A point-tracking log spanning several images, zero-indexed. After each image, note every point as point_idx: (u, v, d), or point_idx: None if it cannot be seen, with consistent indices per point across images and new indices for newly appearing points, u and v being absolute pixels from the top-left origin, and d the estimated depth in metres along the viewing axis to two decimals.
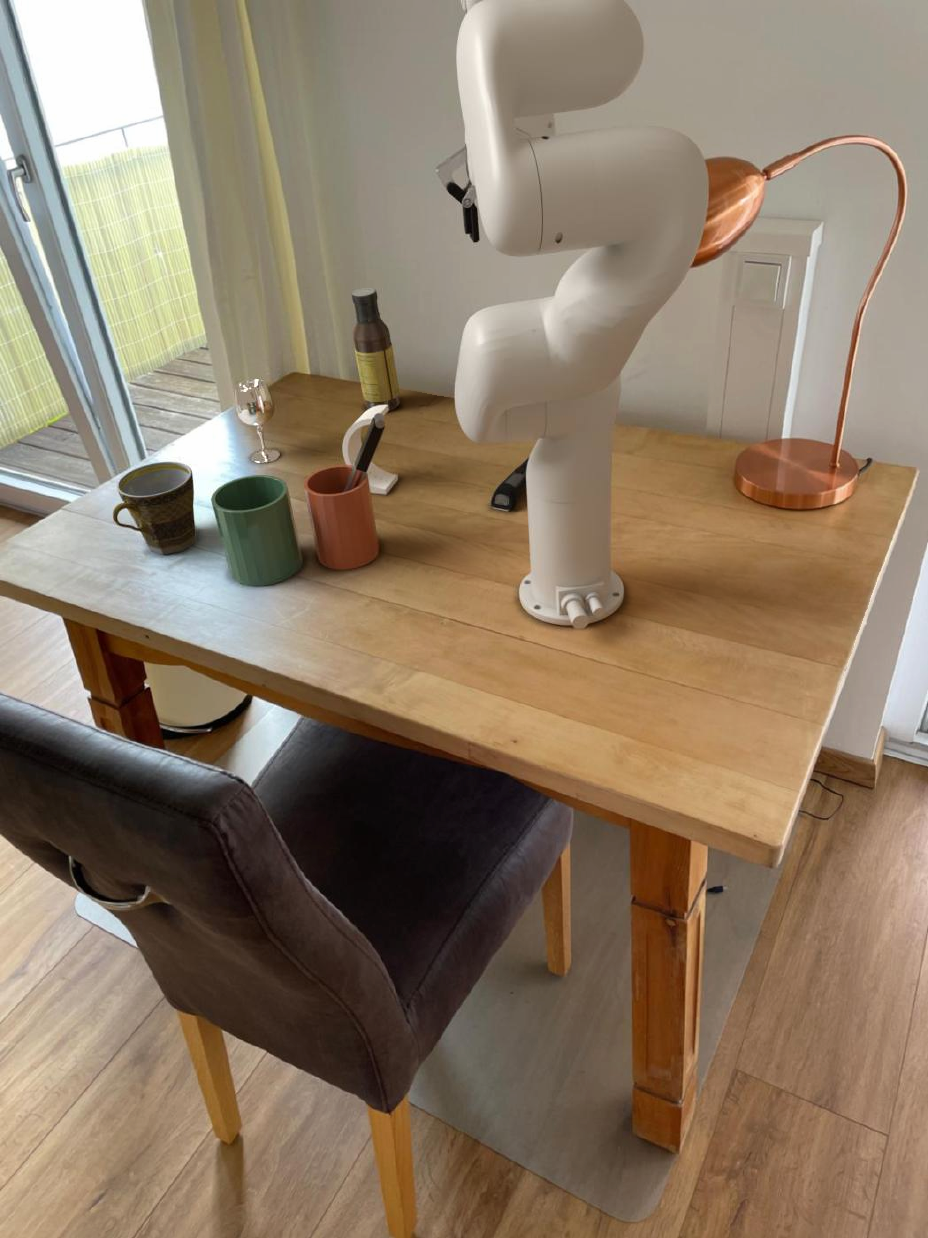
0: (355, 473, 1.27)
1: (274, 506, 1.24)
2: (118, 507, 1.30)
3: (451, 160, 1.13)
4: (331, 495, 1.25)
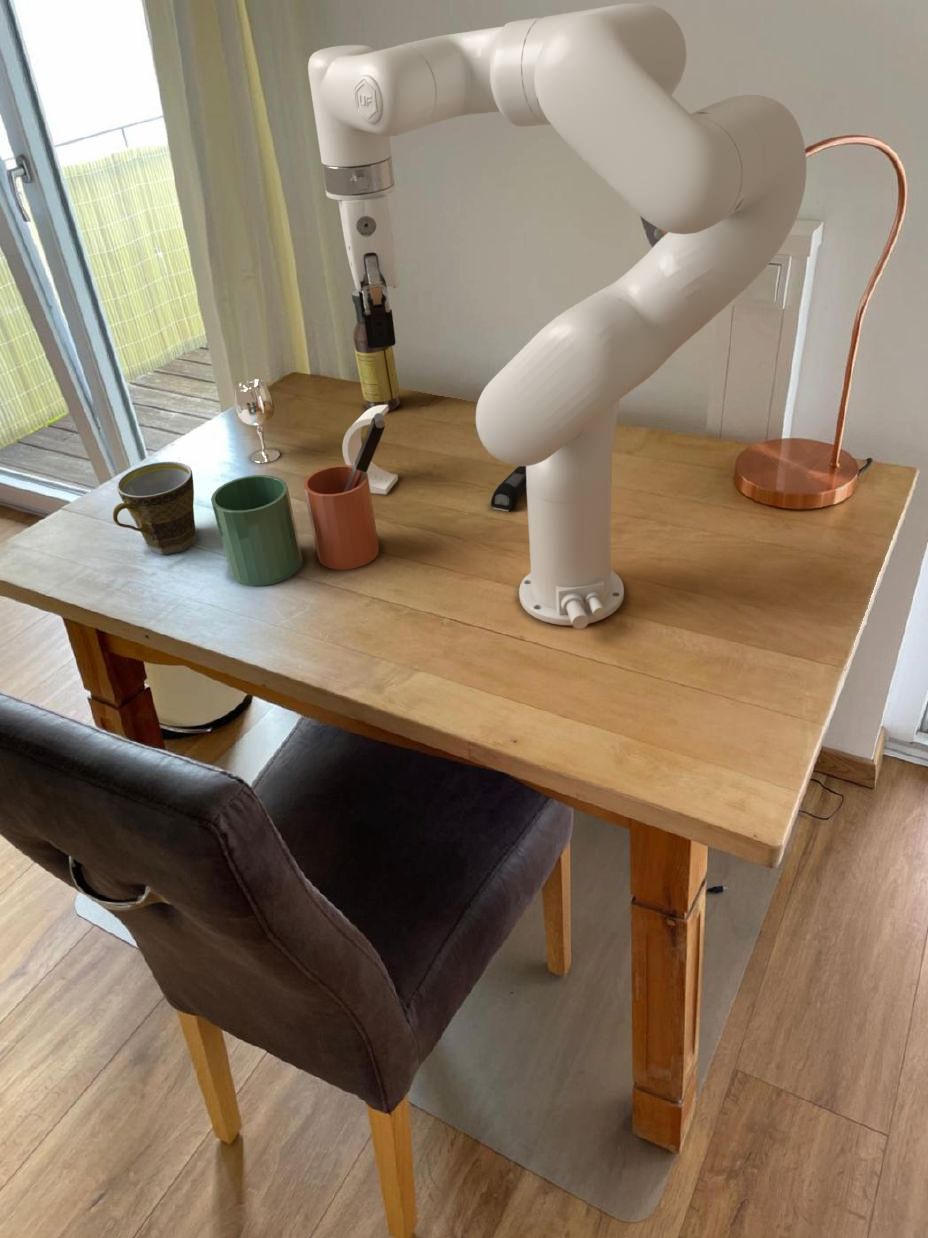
0: (355, 473, 1.27)
1: (274, 506, 1.24)
2: (118, 507, 1.30)
3: (378, 270, 1.08)
4: (331, 495, 1.25)
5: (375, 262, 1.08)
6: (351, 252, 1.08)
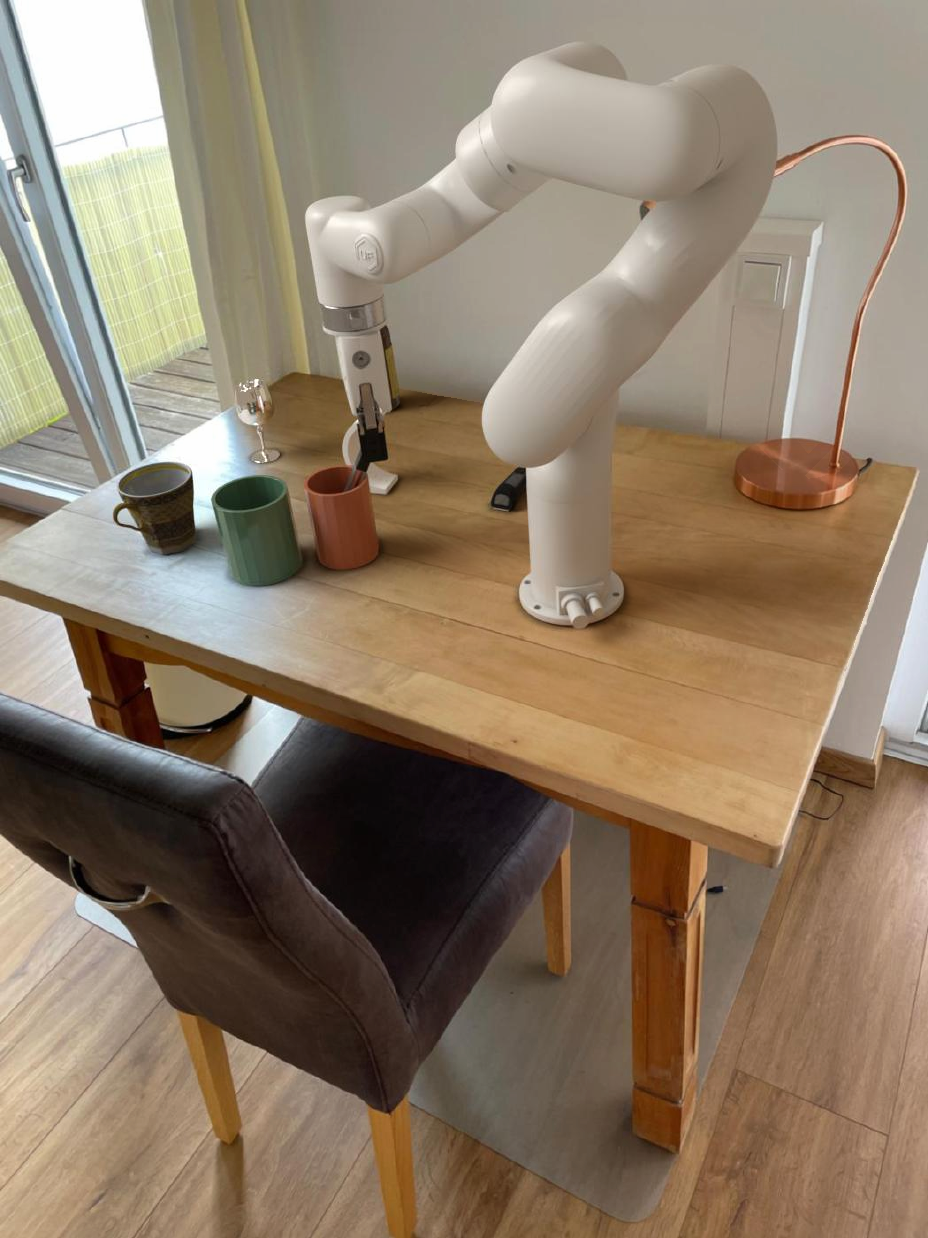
0: (355, 473, 1.27)
1: (274, 506, 1.24)
2: (118, 507, 1.30)
3: (374, 410, 1.18)
4: (331, 495, 1.25)
5: (371, 400, 1.17)
6: (347, 382, 1.16)
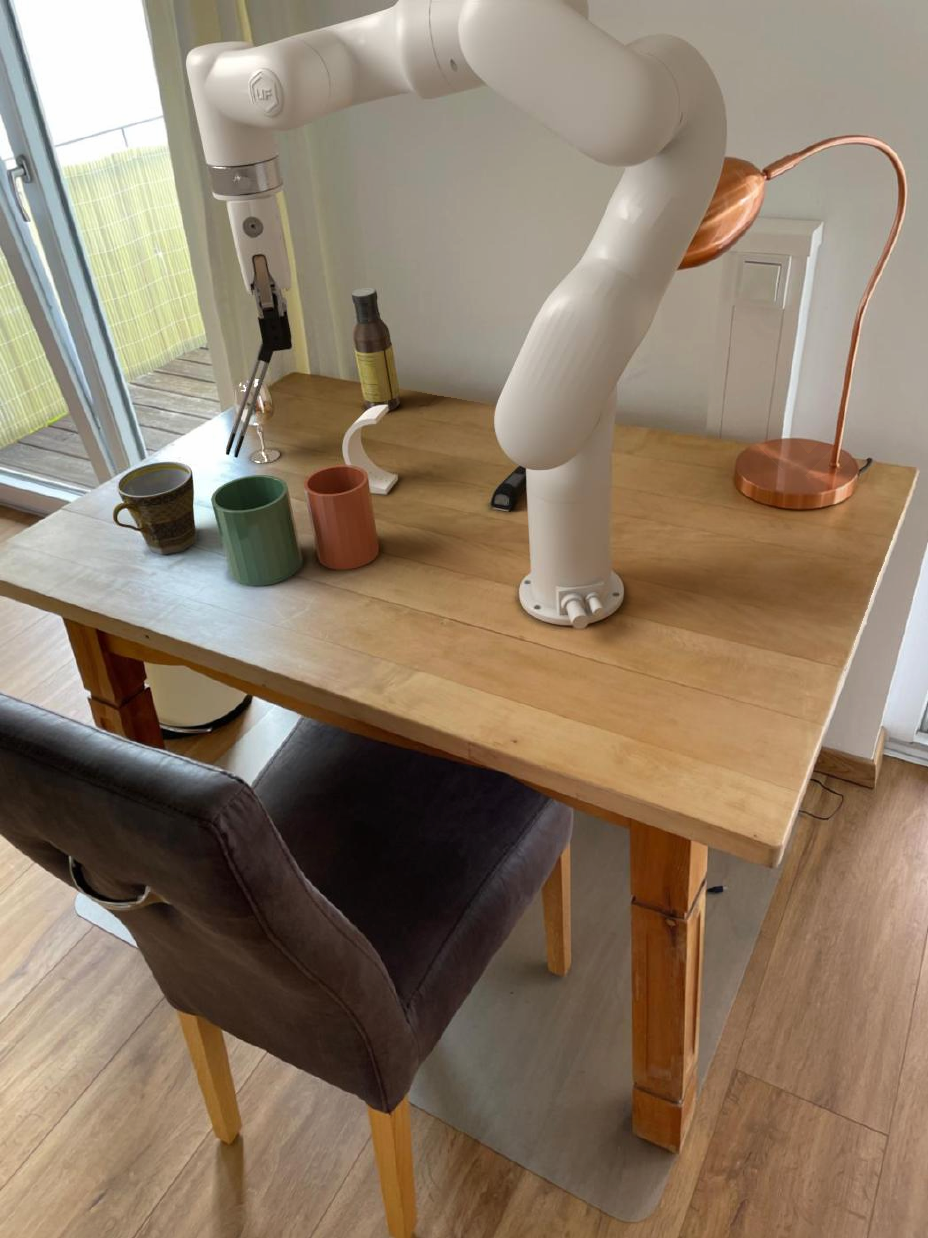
0: (257, 364, 1.17)
1: (274, 506, 1.24)
2: (118, 507, 1.30)
3: (269, 286, 1.08)
4: (331, 495, 1.25)
5: (266, 275, 1.07)
6: (239, 254, 1.06)
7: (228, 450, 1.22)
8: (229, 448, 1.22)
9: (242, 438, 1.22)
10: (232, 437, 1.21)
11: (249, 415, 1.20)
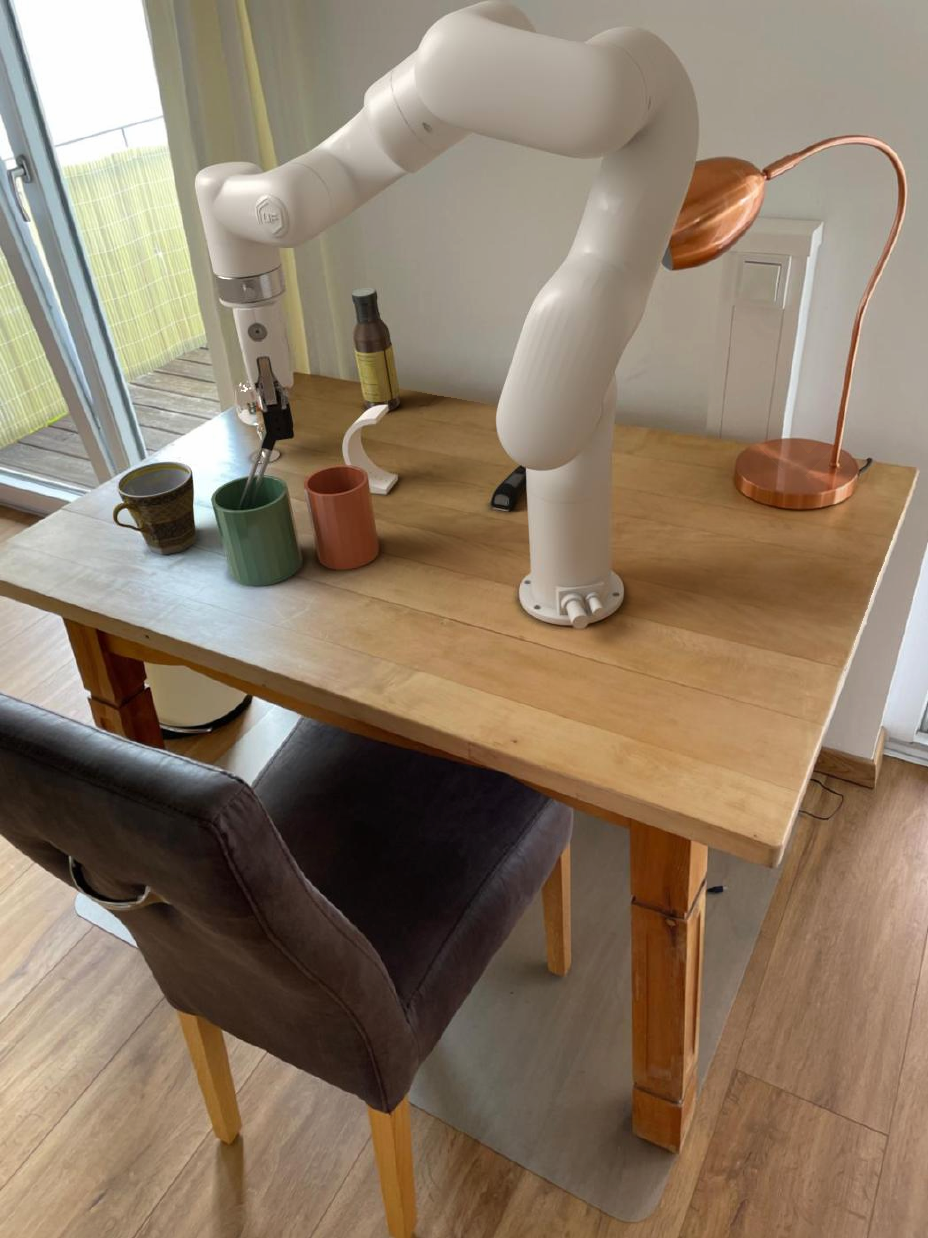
0: (261, 451, 1.23)
1: (274, 506, 1.24)
2: (118, 507, 1.30)
3: (273, 385, 1.14)
4: (331, 495, 1.25)
5: (270, 375, 1.13)
6: (244, 356, 1.12)
7: None
8: None
9: None
10: None
11: (253, 498, 1.26)
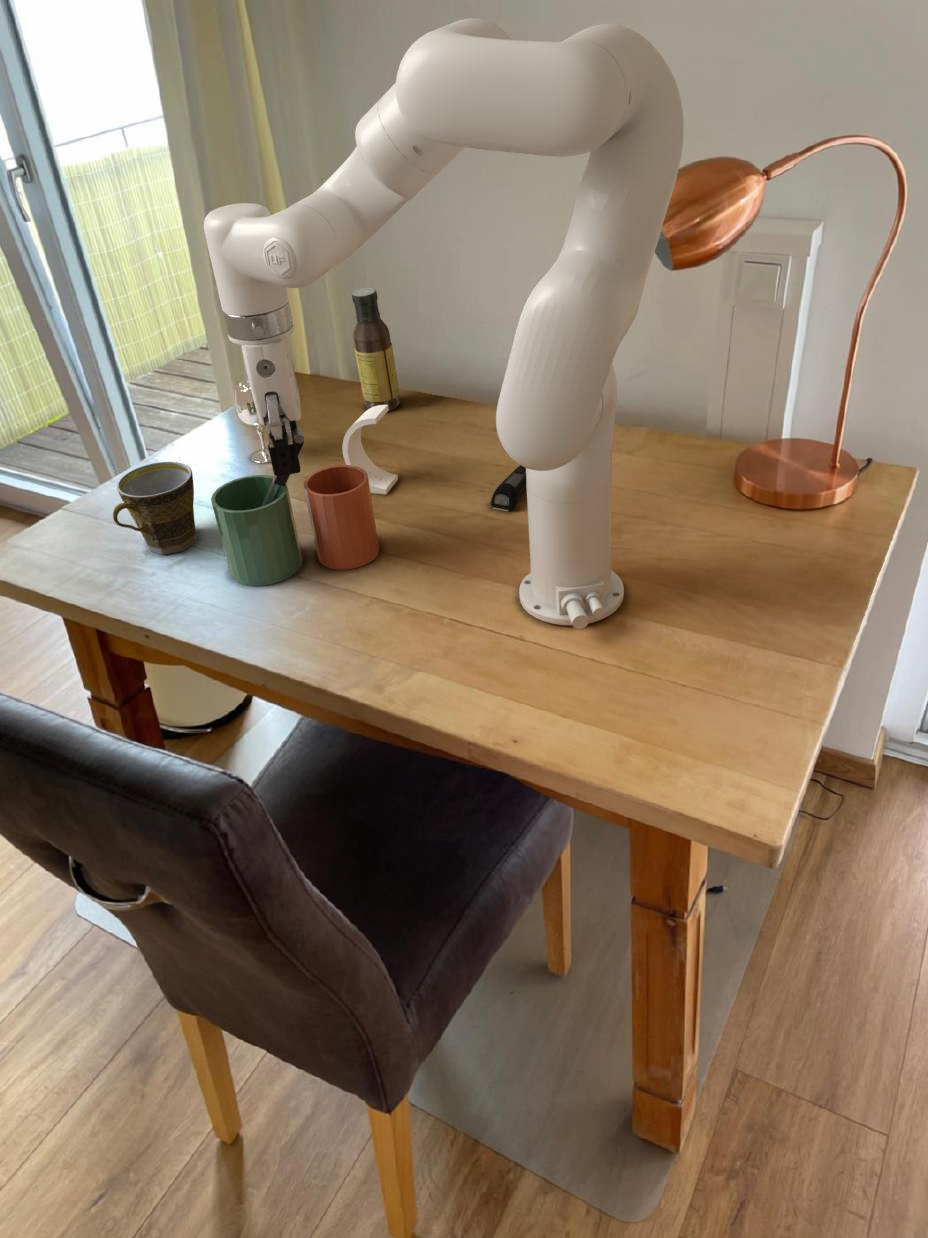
0: (273, 487, 1.26)
1: (274, 506, 1.24)
2: (118, 507, 1.30)
3: (278, 409, 1.14)
4: (331, 495, 1.25)
5: (275, 401, 1.14)
6: (253, 391, 1.15)
7: None
8: None
9: None
10: None
11: None
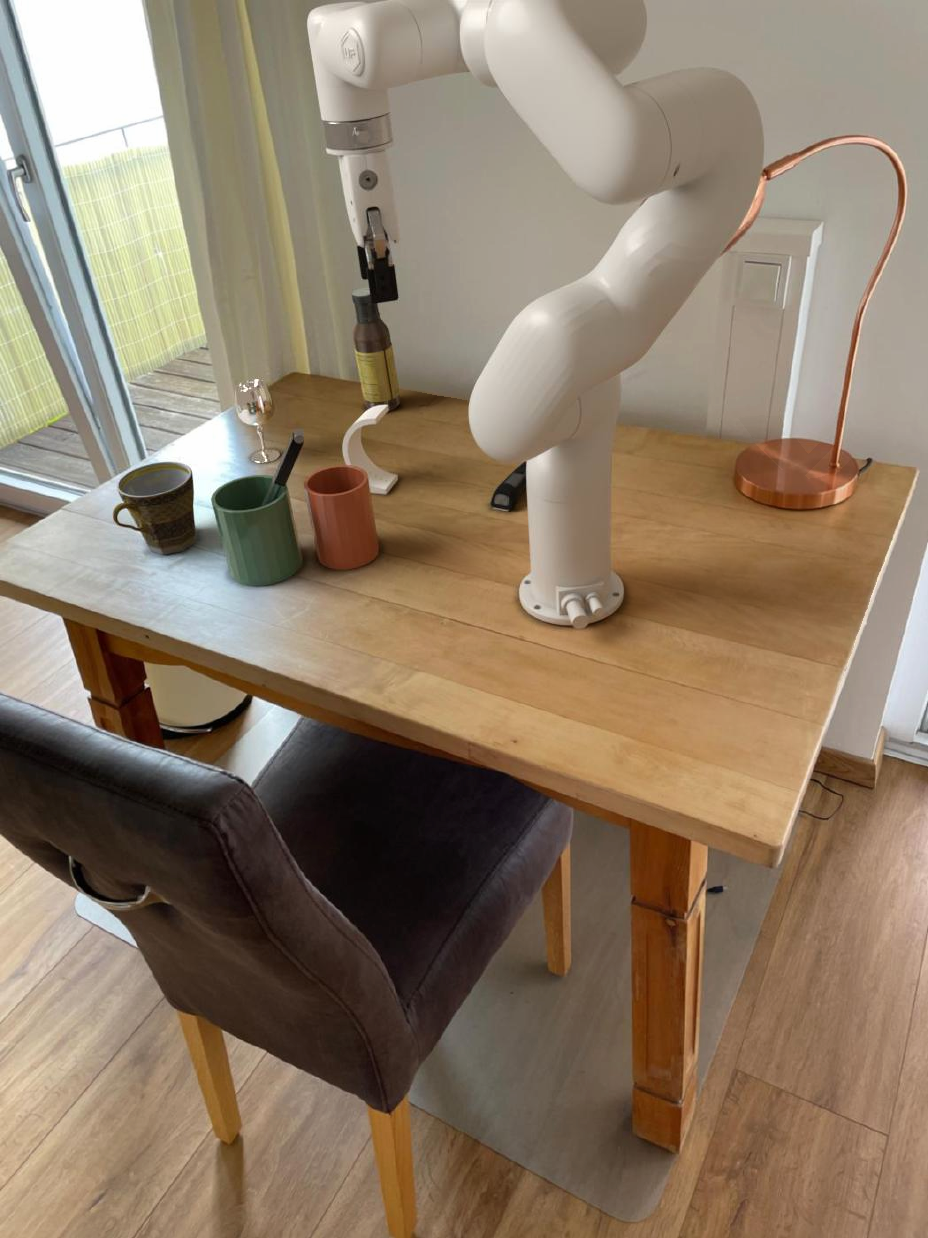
0: (273, 487, 1.26)
1: (274, 506, 1.24)
2: (118, 507, 1.30)
3: (381, 223, 1.10)
4: (331, 495, 1.25)
5: (378, 216, 1.10)
6: (354, 207, 1.11)
7: None
8: None
9: None
10: None
11: None
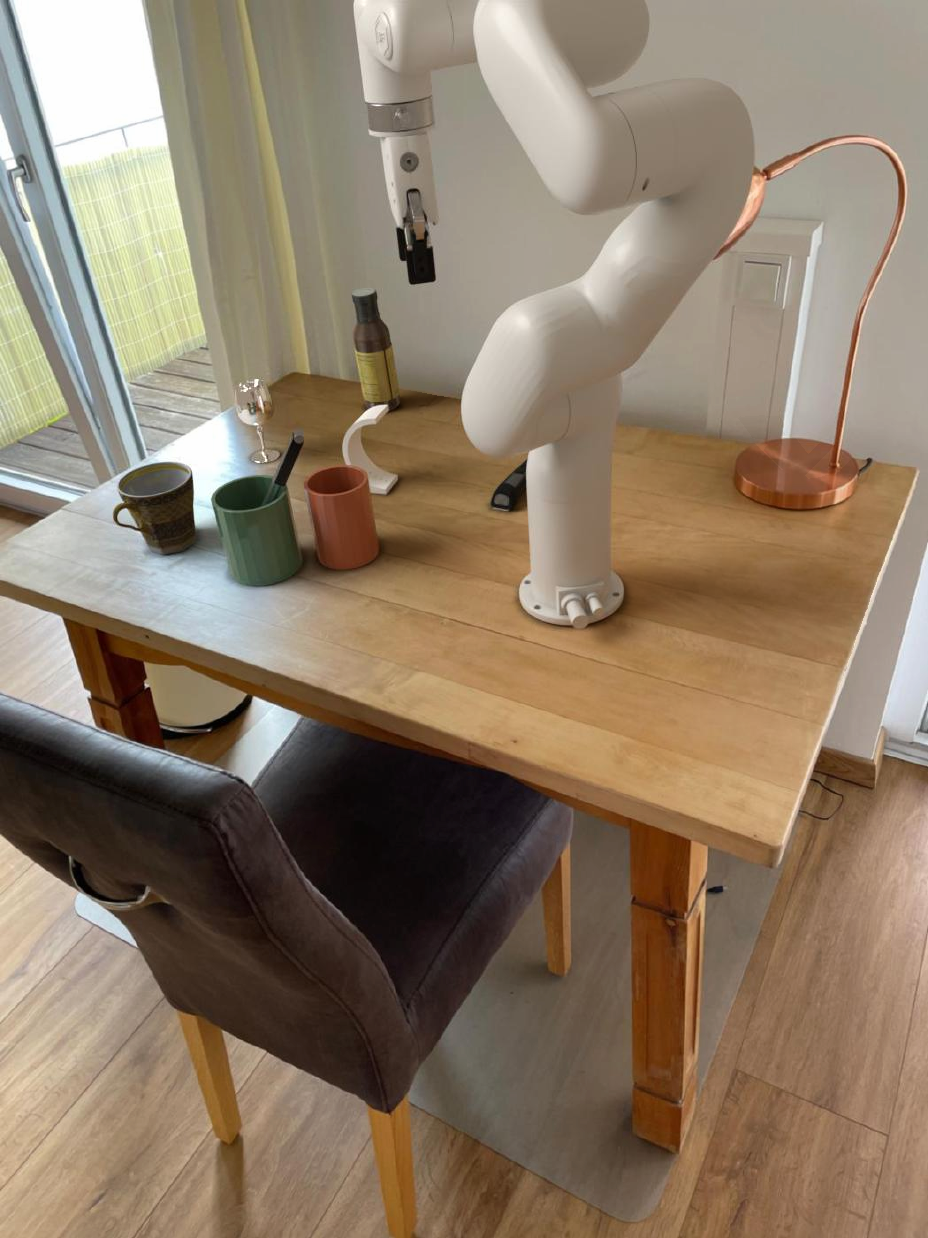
0: (273, 487, 1.26)
1: (274, 506, 1.24)
2: (118, 507, 1.30)
3: (421, 205, 1.11)
4: (331, 495, 1.25)
5: (418, 197, 1.12)
6: (394, 188, 1.12)
7: None
8: None
9: None
10: None
11: None
